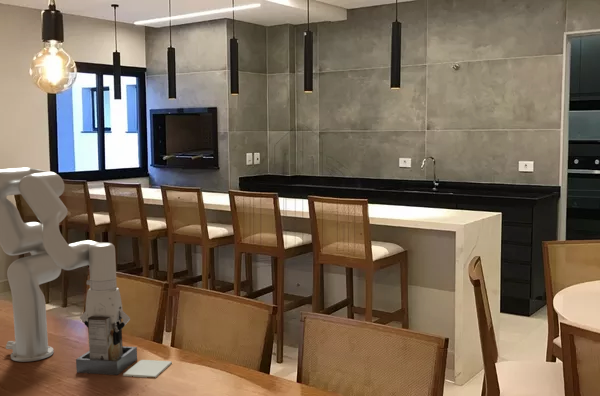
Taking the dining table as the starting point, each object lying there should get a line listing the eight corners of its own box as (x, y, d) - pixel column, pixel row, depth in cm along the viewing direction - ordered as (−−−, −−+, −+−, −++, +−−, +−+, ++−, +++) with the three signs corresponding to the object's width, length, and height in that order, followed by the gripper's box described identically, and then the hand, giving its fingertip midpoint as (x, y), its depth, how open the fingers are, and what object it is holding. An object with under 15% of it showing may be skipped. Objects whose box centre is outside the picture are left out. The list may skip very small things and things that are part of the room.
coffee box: (104, 359, 204) (102, 309, 202) (123, 360, 202) (121, 310, 201) (89, 370, 195) (87, 317, 193) (109, 371, 193) (107, 318, 192)
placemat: (123, 376, 190) (123, 374, 190) (141, 361, 202) (141, 359, 202) (155, 378, 188) (155, 375, 188) (171, 363, 200) (171, 361, 200)
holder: (76, 372, 193) (75, 359, 193) (98, 357, 206) (97, 345, 206) (117, 375, 191) (116, 361, 190) (137, 359, 204) (136, 347, 203)
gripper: (70, 286, 194) (73, 345, 196) (124, 288, 191) (127, 348, 192) (83, 280, 201) (86, 337, 203) (136, 282, 198) (138, 340, 200)
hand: (106, 342), depth 198 cm, fingers closed on coffee box, 6 cm apart
